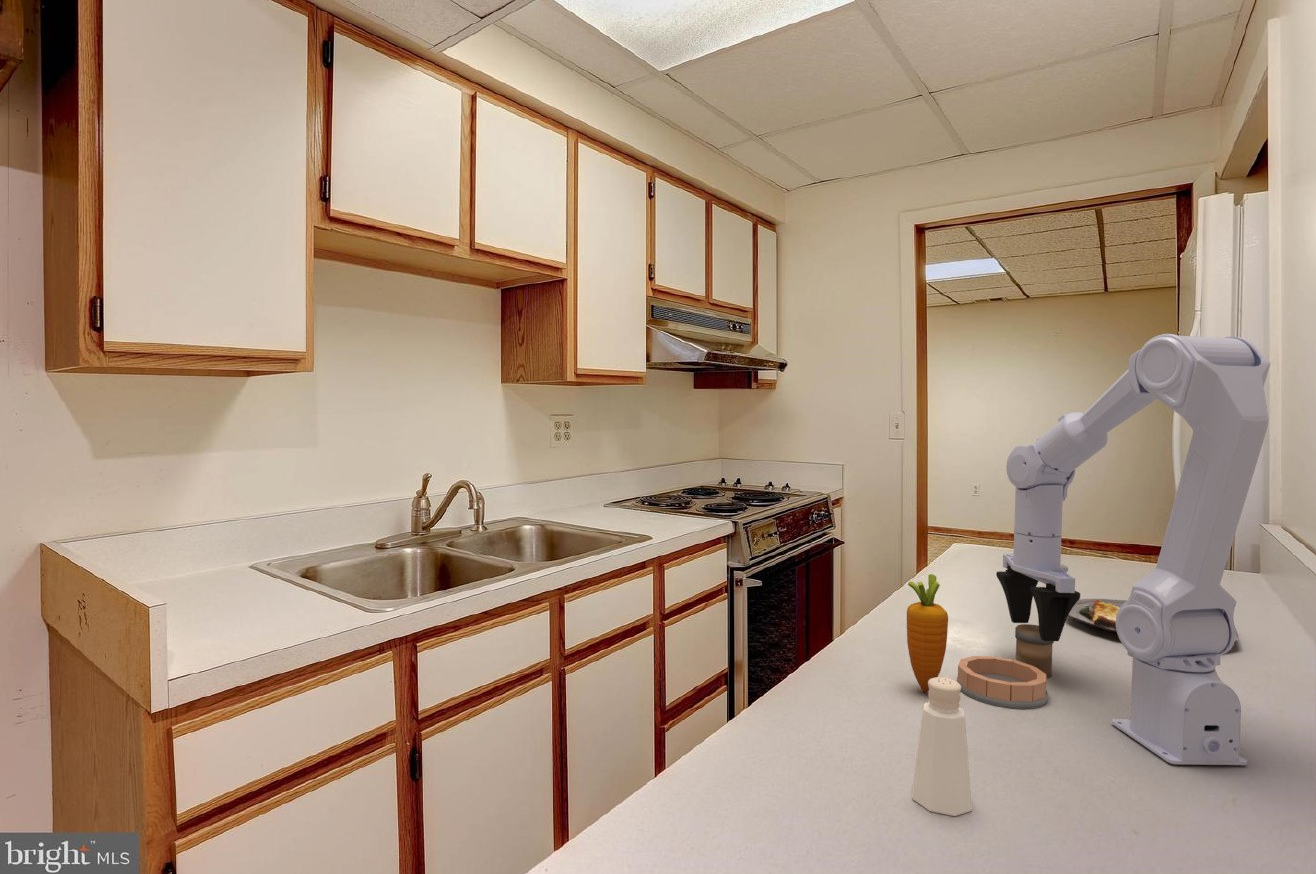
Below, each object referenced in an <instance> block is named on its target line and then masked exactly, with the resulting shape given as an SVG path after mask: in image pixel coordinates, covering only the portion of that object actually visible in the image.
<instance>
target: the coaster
mask: <svg viewBox="0 0 1316 874" xmlns="http://www.w3.org/2000/svg"><path fill="white" fill-rule="evenodd" d="M956 682H958V683H959V684H960V685H961V691H960V693H962V694H963V695H965V696H968V697H969V698H971V699H972V700H973V699H974V700H976V701H979V702H981V703H985V704H988V705H992V706H995V707H996V706H997V707H1001V708H1009V709H1018V710H1028V709H1029V710H1030V709H1036V708H1041V707H1044V706H1045V705H1046V704H1047V703H1048V699H1049V698H1048V695H1049V694H1048V691H1047V678H1046V674H1045V673H1044V672H1042V671H1041V670H1039V669H1038V668H1036V667H1034V666H1032V665H1029V664H1026V663H1023V662H1020V661H1017V660H1016V659H1012V658H1005V657H999V656H995V655H994V656H992V655H974V656H973V655H972V656H968V657H964V658H961V659H960V660H959V662H958V665H957V677H956Z"/></svg>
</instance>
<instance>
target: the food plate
mask: <svg viewBox="0 0 1316 874" xmlns="http://www.w3.org/2000/svg"><path fill="white" fill-rule="evenodd" d="M1127 600H1128V599H1111V598H1082V599H1081V598H1080V599H1079V600H1078V601H1077V602H1076V604H1075V605H1074V606H1073V608H1072V609H1071V611H1070V613H1069V615H1068V617H1067V618H1069V619H1072V620H1074V621H1078V622H1080V623H1083V624H1086V625H1088V626H1091V627H1095V628H1099V629H1102V630H1105V631H1107V632H1112V633H1113V632H1114V633H1117V630H1116V616H1117V612H1118V610H1119V609H1120V607H1121V606H1122V605H1123V604H1124V603H1125V602H1126V601H1127ZM1235 630H1236V638H1235V642H1234V644H1236V643H1237V642H1238V641H1240V639H1239V634H1238V630H1237V628H1236V627H1235Z"/></svg>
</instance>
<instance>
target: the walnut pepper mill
mask: <svg viewBox="0 0 1316 874" xmlns="http://www.w3.org/2000/svg"><path fill="white" fill-rule="evenodd" d="M1014 632H1015V633H1014V636H1015V638H1016V639H1015V642H1016V643H1015V660H1017V661H1020V662H1023V663H1026V664H1029V665H1032V666H1034V667H1036V668H1038V669H1039V670H1041V671H1042V672H1044V673H1045V674H1046V679H1047V678H1051V677H1052V670H1053V669H1052V668H1053V644H1054V643H1055V641H1043V640H1041V637H1040V633H1039V624H1038V625H1037V624H1031V623H1030V624H1029V623H1020V624H1018V625H1016V626H1015V630H1014Z"/></svg>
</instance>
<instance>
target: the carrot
mask: <svg viewBox="0 0 1316 874" xmlns="http://www.w3.org/2000/svg"><path fill="white" fill-rule="evenodd" d="M927 582H928V583H927V585H928V588H925V585H924V584H923V581H917V582H916V583H917V584H916V583H915V582H914V581H911V580H910V581H909V582H908V583H907V585H908V586H909V587H910V588H911V589H913V591H915V593H916V595H917V596H918V598H919V601H917V602H914V603H912V604H909V605H908V606H907V609H906V641H907V642H906V643H907V649H908V650H907V651H908V656H909V660H910V665H911V669H912V672H913V675H914V677H915V679H916V681H917V684H918V686H919V688H920V689H921V690H922V692H923V693H929V686H928V681H929V680H930V679H932V678H936V677H939V675H940V673H941V670H942V668H943V663H944V661H945V660H944V659H945V655H946V650H947V643H948V628H949V615H948V612H947V610H945V608H944V607H942V606H941V605H940V604H938V603H934V602H935V596H936V594H937V592H938V590H939V588H940V582H938V581H937V576H936V574H934V573H930V574H928V581H927Z"/></svg>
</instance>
